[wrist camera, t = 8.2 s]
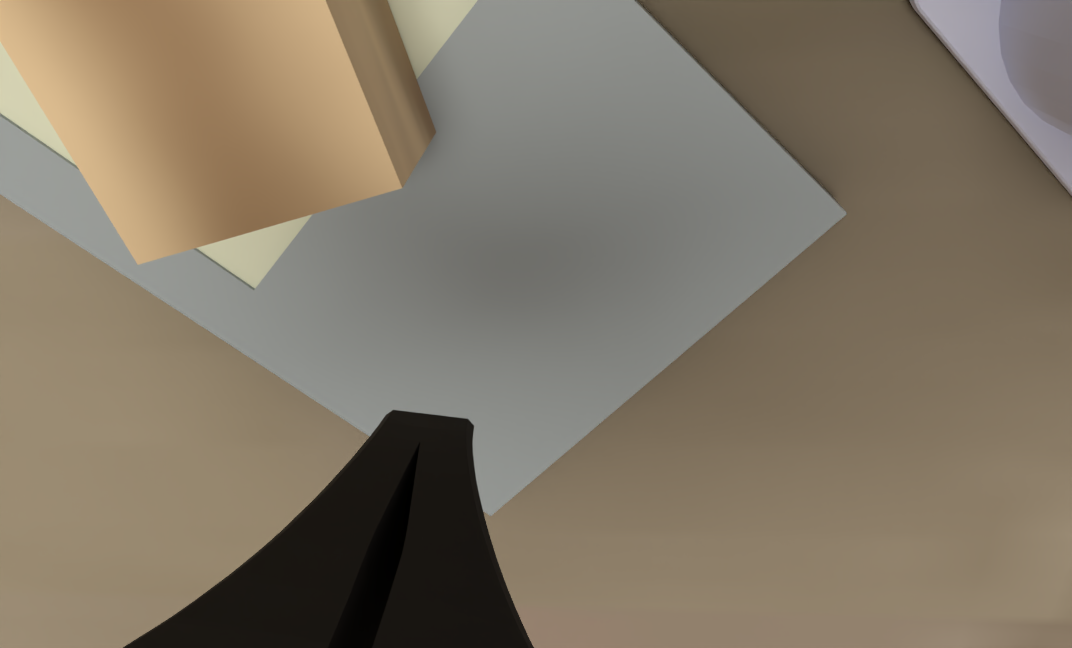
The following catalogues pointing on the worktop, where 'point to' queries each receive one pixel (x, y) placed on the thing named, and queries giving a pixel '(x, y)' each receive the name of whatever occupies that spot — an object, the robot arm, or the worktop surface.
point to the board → (490, 232)
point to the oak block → (221, 108)
